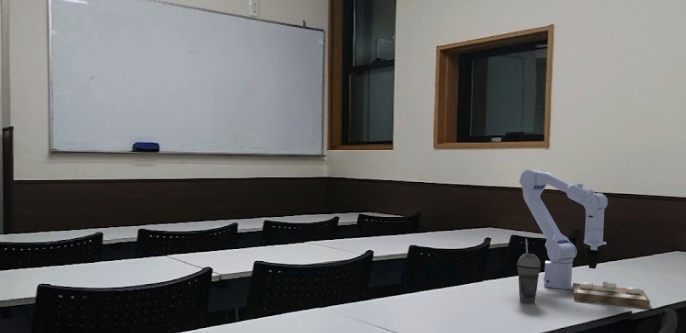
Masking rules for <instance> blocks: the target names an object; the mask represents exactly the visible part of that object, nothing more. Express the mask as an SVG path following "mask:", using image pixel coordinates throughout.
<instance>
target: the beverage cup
mask: <svg viewBox="0 0 686 333" xmlns="http://www.w3.org/2000/svg"><path fill="white" fill-rule="evenodd" d="M528 248H529V247H528V238H525V252H526V253H523V254H522V255H521V256H519V259H518V260H517V263H516V266H517V273H518V274H517V276H518V294H519V302H520V303H522V304H524V305H525V304H526V305H535V303H536V298H537V290H538V283H539V277H540V276H539V275H540V272H541V268H542V266H541V261H540V259H539V258H538V256H537V255H536V254H534V253H529V250H528Z"/></svg>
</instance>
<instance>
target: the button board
mask: <svg viewBox="0 0 686 333" xmlns="http://www.w3.org/2000/svg"><path fill="white" fill-rule="evenodd" d="M572 286H573V289H572V293H573V294H572V295H573V301H578V302H585V303H595V304H602V305H610V306H611V305H614V306H620V307H621V306H623V307H631V308H640V309H649V310H650V309H651V308H650V306H651V304H650V303H651V301H650V299H649V297H648V296H647V294H646V292H645V291H644V289H640V294H629V293H626V287H617V286H616V289H607V288H603V285H595V284H593V289H592V290H587V289H582V288H580V283H578V282H576V283H574V282H572Z"/></svg>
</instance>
